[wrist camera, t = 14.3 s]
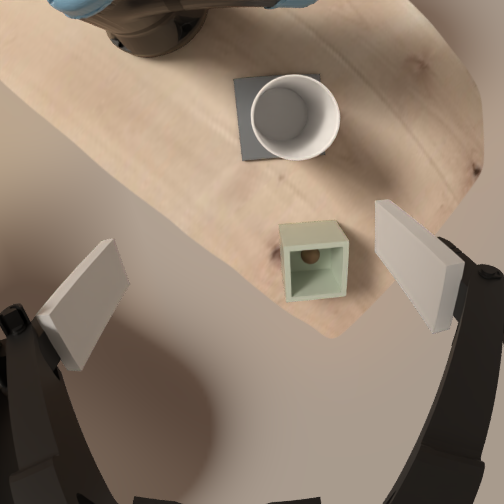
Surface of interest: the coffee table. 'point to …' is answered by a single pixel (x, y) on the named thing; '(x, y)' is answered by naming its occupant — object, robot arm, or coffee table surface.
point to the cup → (295, 117)
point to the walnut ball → (310, 256)
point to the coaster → (244, 99)
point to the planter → (320, 273)
